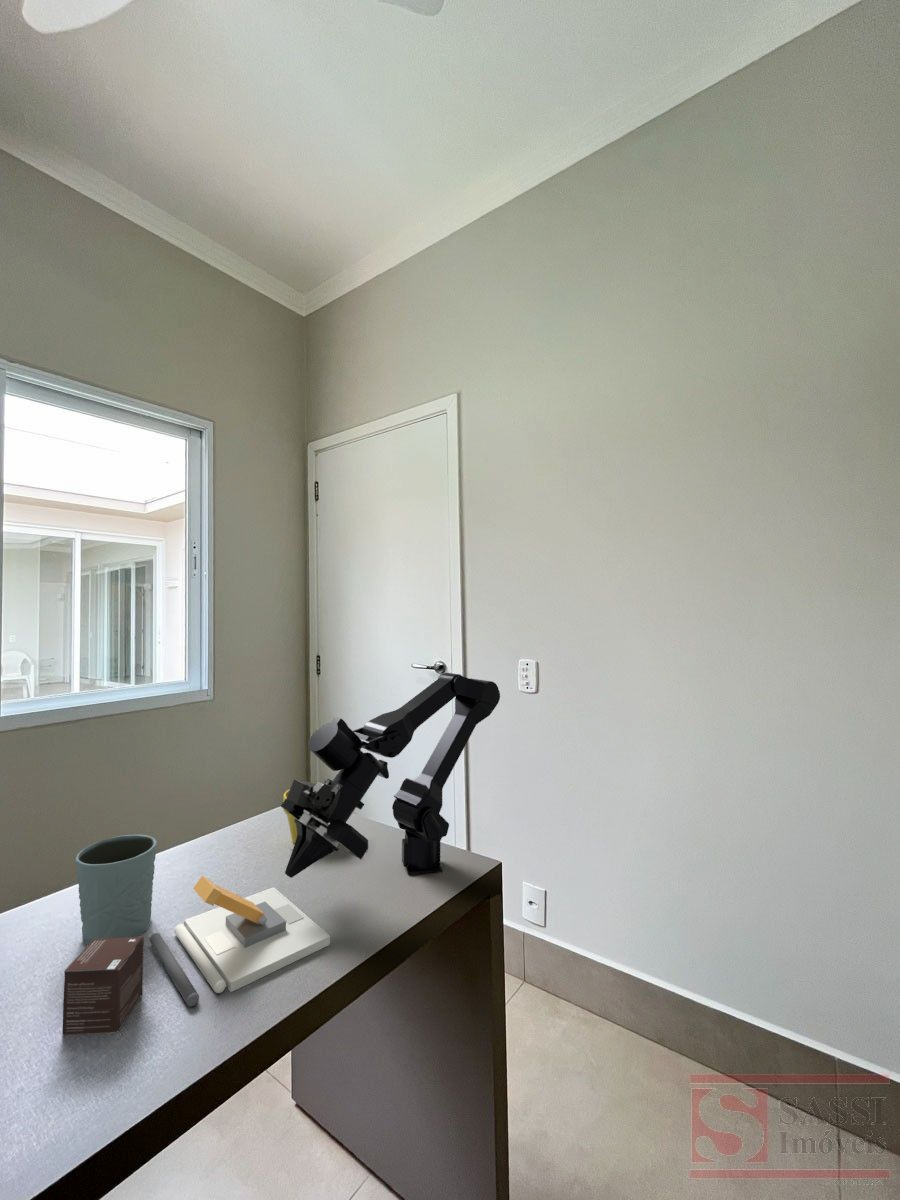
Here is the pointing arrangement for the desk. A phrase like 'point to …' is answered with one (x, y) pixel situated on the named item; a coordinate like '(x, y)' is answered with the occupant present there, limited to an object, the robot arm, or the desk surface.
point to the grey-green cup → (116, 886)
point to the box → (103, 986)
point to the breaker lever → (228, 900)
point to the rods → (178, 973)
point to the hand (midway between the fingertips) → (287, 875)
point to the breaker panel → (256, 938)
